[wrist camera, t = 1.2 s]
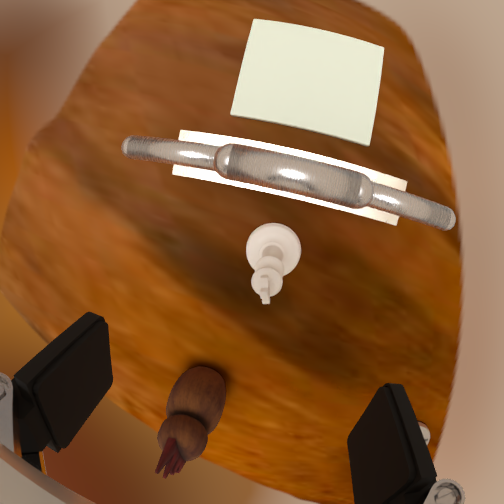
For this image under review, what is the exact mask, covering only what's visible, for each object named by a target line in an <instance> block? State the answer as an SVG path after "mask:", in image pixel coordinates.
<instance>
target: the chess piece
mask: <svg viewBox="0 0 504 504" xmlns="http://www.w3.org/2000/svg"><path fill="white" fill-rule="evenodd" d="M246 255H247V259H248V262H249V264H250V265H251V267H252V268H253V269H254V270H255V273H254V274H253V276H252V279H251V284H252V287H253V289H254V291H255V292H256V293H257V294H259V295H260V299H262V304H270V296H274V295H276V294H277V293H278V292H279V291H280V290H281V288H282V284H283V281H282V277H283V276H284V275H286V274H288V273H290V272H291V271H292V270H293V269H294V268H295V267H296V265H297V263H298V261H299V259H300V255H301V245H300V241H299V239H298V237H297V235H296V234H295V233H294V232H293V231H292V230H291V229H290V228H289V227H287V226H285V225H282V224H279V223H268V224H264V225H262V226H260V227H258V228H257V229H255V230H254V231H253V232H252V233H251V235H250V237H249V238H248V241H247V245H246Z"/></svg>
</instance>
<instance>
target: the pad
mask: <svg viewBox="0 0 504 504" xmlns="http://www.w3.org/2000/svg"><path fill="white" fill-rule="evenodd" d="M383 54H384V48H383V47H381V46H378V45H375V44H372V43H368V42H365V41H362V40H359V39H355V38H352V37H348V36H345V35H341V34H337V33H333V32H329V31H325V30H320V29H316V28H311V27H306V26H301V25H295V24H289V23H283V22H276V21H268V20H260V19H254V20H253V24H252V27H251V31H250V35H249V39H248V43H247V46H246V50H245V54H244V58H243V62H242V66H241V70H240V75H239V79H238V83H237V87H236V92H235V96H234V100H233V105H232V109H231V115H232V116H236V117H242V118H248V119H254V120H260V121H265V122H270V123H276V124H281V125H285V126H290V127H295V128H299V129H304V130H308V131H312V132H316V133H320V134H324V135H328V136H332V137H336V138H339V139H343V140H346V141H350V142H353V143H357V144H360V145H363V146H369V145H370V140H371V134H372V129H373V123H374V118H375V112H376V106H377V99H378V93H379V86H380V79H381V71H382V63H383Z"/></svg>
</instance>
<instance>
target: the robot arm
mask: <svg viewBox="0 0 504 504" xmlns="http://www.w3.org/2000/svg"><path fill="white" fill-rule="evenodd" d="M112 382H113V375H112V366H111V356H110V345H109V331H108V324H107V323H106V322H105V319H104V318H103V317H102V316H99V315H97V314H94V313H92V312H87V313H86V314H84V315H83V316H82V317H81V318H79V319H78V320H77V321H76V322H75V323H73V324H72V325H71V326H70V327H69V328H67V329H66V330H65V331H64V332H63V333H61V334H60V335H59V336H58V337H57V338H55V339H54V340H53V341H52V342H51V343H50V344H48V345H47V346H46V347H45V348H44V349H43V350H42V351H41V352H39V353H38V354H37V355H36V356H35V357H34V358H33V359H31V360H30V361H29V362H28V363H27V364H26V365H25V366H24V367H22V368H21V369H20V370H19V371H18V372H17V373H16V374H15V375H14V379H12V380H10V378H9V377H7V376H6V375H5V374H3V373H0V504H96V503H94V502H92V501H89V500H88V499H86V498H84V497H82V496H80V495H79V494H77V493H75V492H73V491H72V490H70V489H68V488H66V487H65V486H63V485H61V484H60V483H58V482H56V481H55V480H53V479H51V478H50V477H48V476H47V473H46V468H45V463H44V457H43V449H44V448H45V447H46V446H48V447H49V448H51V449H52V450H54V451H55V452H57V453H58V452H59V451H60V450H61V448H66V447H67V446H68V445H69V444H70V442H71V441H72V439H73V438H74V436H75V435H76V434H77V432H78V431H79V430H80V428H81V427H82V425H83V424H84V422H85V421H86V420H87V418H88V417H89V416H90V414H91V413H92V412H93V410H94V409H95V407H96V406H97V405H98V403H99V402H100V400H101V399H102V398H103V397H104V395H105V394H106V393H107V391H108V390H109V389H110V387H111V385H112ZM429 440H430V432H429V430H428V427H427V426H426V425H425V424H423V423H421V422H418V421H417V418H416V416H415V413H414V411H413V408H412V406H411V404H410V401H409V399H408V396H407V394H406V392H405V389H404V387H403V385H401V384H392V383H386V384H385V385H384V386H383V387H380V388H379V389H378V390H377V392H376V394H375V395H374V397H373V399H372V400H371V402H370V404H369V405H368V407H367V408H366V410H365V411H364V413H363V415H362V416H361V418H360V419H359V421H358V422H357V424H356V425H355V427H354V428H353V430H352V431H351V433H350V434H349V436H348V440H347V444H348V452H349V460H350V467H351V475H352V484H353V493H354V503H355V504H464V501H465V493H464V491H463V488H462V487H461V486H460V485H459V484H458V483H457V482H456V481H454V480H451V479H442V480H439V481H436V478H435V477H436V476H437V474H436V471H435V468H434V465H433V462H432V459H431V456H430V453H429V450H428V448H427V444H428V443H429Z"/></svg>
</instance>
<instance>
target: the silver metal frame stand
mask: <svg viewBox="0 0 504 504" xmlns="http://www.w3.org/2000/svg"><path fill="white" fill-rule="evenodd" d="M121 149H122V153H123V154H124V155H125V156H126V157H128V158H131V159H139V160H147V161H154V162H161V163H168V164H174V167H173V173H172V174H174V175H180V176H186V177H191V178H197V179H203V180H208V181H213V182H219V183H224V184H229V185H234V186H239V187H244V188H249V189H253V190H258V191H263V192H267V193H272V194H276V195H281V196H285V197H290V198H294V199H298V200H302V201H306V202H311V203H315V204H319V205H323V206H327V207H331V208H334V209H338V210H342V211H346V212H350V213H353V214H357V215H361V216H364V217H368V218H372V219H375V220H379V221H382V222H386V223H389V224H392V225H397V221H398V218H399V216H401V217H404V218H407V219H410V220H413V221H416V222H419V223H423V224H426V225H429V226H432V227H435V228H437V229H440V230H444V231H446V230H450V229H451V228H452V227H453V226H454V224H455V219H456V218H455V214H454V212H453V211H452V210H451V209H450V208H448V207H446V206H443V205H441V204H438V203H435V202H433V201H430V200H427V199H425V198H422V197H419V196H416V195H413V194H410V193H407V192H405V190H406V185H407V181H404V180H402V179H399V178H396V177H393V176H390V175H387V174H383V173H380V172H377V171H374V170H371V169H367V168H364V167H361V166H357V165H354V164H350V163H347V162H343V161H340V160H336V159H332V158H328V157H324V156H320V155H316V154H312V153H308V152H304V151H300V150H295V149H291V148H286V147H282V146H277V145H272V144H267V143H262V142H257V141H252V140H246V139H240V138H235V137H229V136H222V135H216V134H209V133H202V132H194V131H186V130H180V135H179V140H174V139H166V138H157V137H147V136H136V135H132V136H129V137H127V138H126V139H125V140H124V141H123V143H122V147H121Z"/></svg>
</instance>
